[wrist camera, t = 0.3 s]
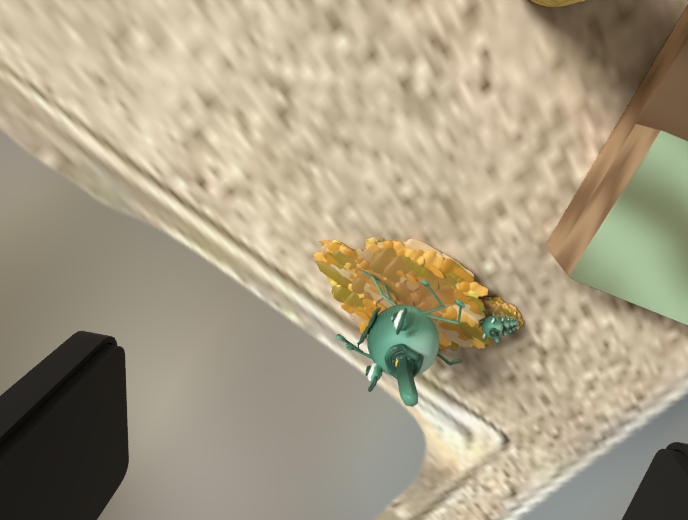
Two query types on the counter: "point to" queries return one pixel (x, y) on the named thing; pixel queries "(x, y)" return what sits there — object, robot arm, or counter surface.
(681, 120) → the stand
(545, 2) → the sauce bottle
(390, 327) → the teal toy figure
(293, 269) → the counter surface
